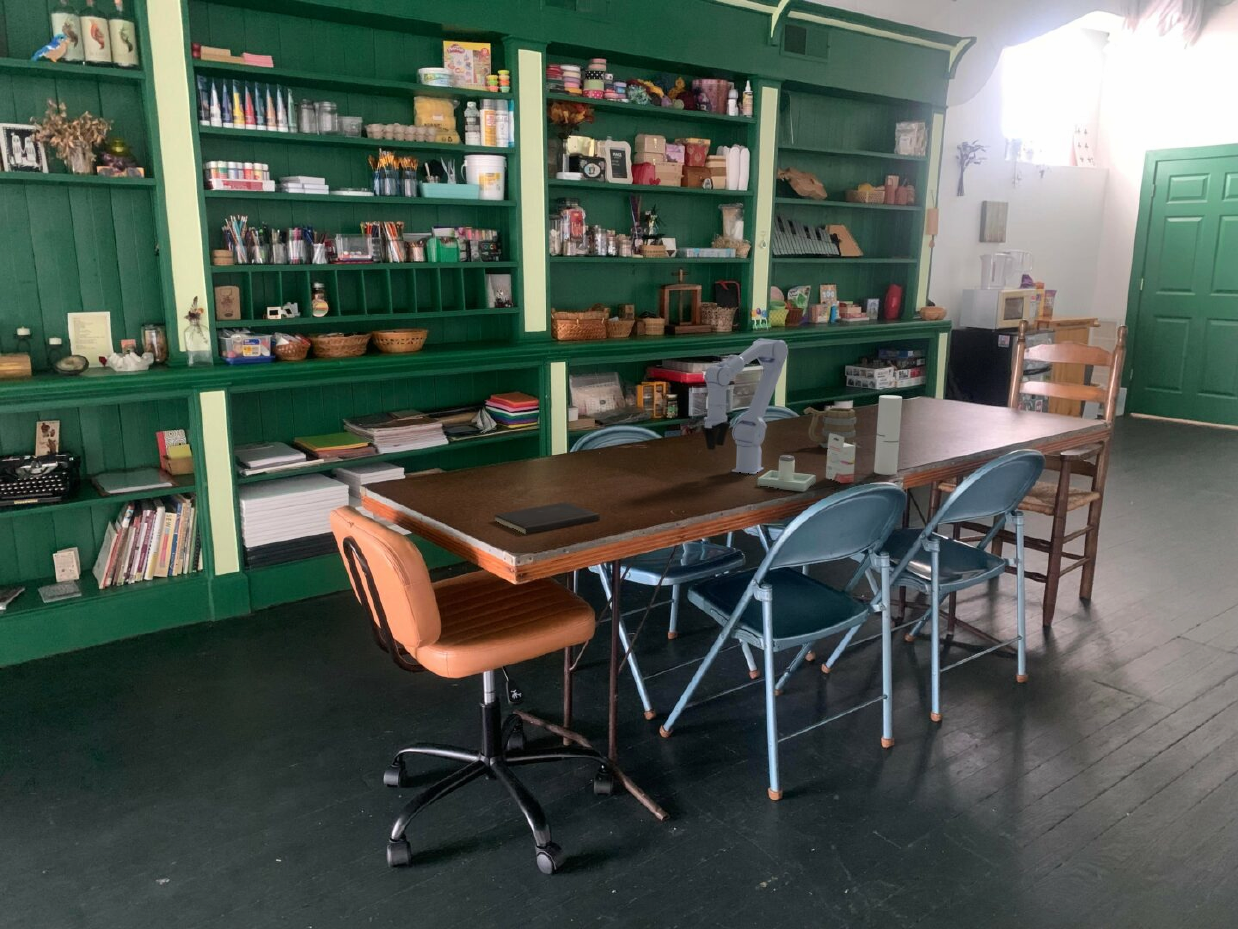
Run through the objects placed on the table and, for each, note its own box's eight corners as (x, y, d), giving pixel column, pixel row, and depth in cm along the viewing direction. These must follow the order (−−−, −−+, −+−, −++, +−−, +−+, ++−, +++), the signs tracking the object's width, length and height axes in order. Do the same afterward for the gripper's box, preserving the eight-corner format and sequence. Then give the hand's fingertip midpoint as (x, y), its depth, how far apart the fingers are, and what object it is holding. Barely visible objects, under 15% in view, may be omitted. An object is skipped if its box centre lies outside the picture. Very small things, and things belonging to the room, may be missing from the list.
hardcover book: (494, 523, 247) (493, 514, 247) (566, 509, 261) (566, 501, 261) (526, 537, 235) (525, 528, 235) (599, 522, 249) (599, 514, 248)
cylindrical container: (881, 468, 312) (886, 394, 307) (900, 472, 307) (906, 396, 302) (870, 472, 307) (875, 396, 302) (889, 475, 303) (895, 399, 297)
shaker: (776, 480, 292) (777, 455, 290) (792, 480, 292) (793, 455, 290) (779, 483, 287) (780, 458, 285) (794, 483, 287) (796, 458, 285)
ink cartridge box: (854, 482, 293) (857, 436, 290) (841, 483, 291) (844, 437, 288) (837, 476, 301) (840, 431, 298) (824, 477, 299) (827, 432, 296)
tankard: (850, 443, 355) (852, 404, 352) (859, 450, 343) (862, 409, 340) (797, 443, 355) (799, 404, 352) (805, 450, 343) (807, 409, 339)
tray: (770, 477, 298) (770, 470, 298) (815, 483, 292) (815, 475, 291) (757, 486, 287) (757, 478, 287) (804, 491, 281) (804, 483, 280)
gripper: (713, 400, 301) (712, 442, 304) (696, 406, 288) (695, 449, 291) (734, 402, 298) (732, 444, 301) (717, 408, 285) (716, 452, 288)
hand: (715, 447), depth 296 cm, fingers open, 7 cm apart
